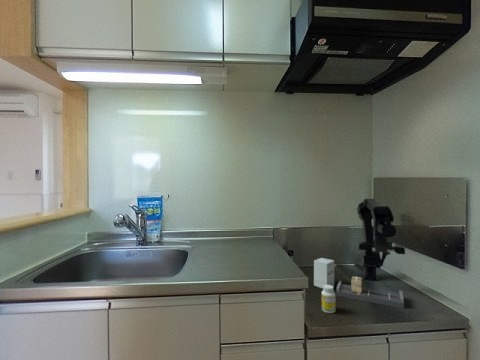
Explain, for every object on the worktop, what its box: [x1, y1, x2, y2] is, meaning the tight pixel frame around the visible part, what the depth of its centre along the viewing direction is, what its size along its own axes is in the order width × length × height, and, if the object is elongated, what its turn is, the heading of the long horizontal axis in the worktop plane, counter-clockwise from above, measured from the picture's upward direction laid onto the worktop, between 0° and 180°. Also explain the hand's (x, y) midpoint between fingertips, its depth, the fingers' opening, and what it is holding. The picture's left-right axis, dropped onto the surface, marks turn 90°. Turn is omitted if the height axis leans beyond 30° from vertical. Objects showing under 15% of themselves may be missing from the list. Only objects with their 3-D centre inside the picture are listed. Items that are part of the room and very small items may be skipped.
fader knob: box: [350, 276, 363, 293], centre depth 120 cm, size 5×4×5 cm
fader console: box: [335, 280, 405, 309], centre depth 118 cm, size 10×26×4 cm, turn 62°
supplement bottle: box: [321, 285, 336, 314], centre depth 107 cm, size 5×5×10 cm
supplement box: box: [313, 257, 335, 289], centre depth 131 cm, size 7×7×13 cm
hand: (381, 265), depth 124 cm, fingers closed
